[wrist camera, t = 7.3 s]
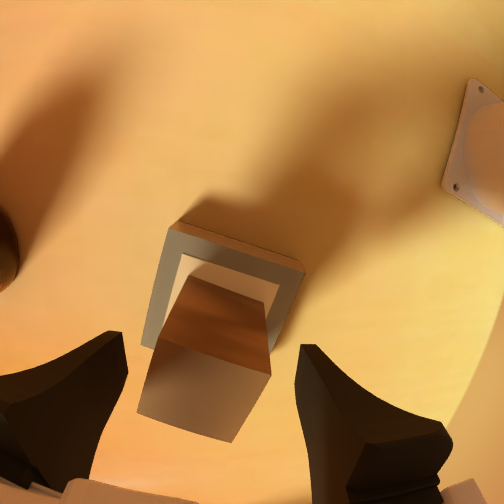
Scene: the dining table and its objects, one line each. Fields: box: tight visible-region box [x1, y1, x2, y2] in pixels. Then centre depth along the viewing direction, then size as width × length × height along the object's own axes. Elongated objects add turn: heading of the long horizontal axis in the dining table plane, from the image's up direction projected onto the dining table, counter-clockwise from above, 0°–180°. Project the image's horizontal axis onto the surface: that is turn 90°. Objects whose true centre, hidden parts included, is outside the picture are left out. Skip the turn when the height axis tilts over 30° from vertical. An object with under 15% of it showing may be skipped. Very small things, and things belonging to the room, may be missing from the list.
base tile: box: [141, 221, 305, 356], centre depth 17 cm, size 7×7×2 cm
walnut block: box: [136, 275, 272, 443], centre depth 14 cm, size 4×4×6 cm
